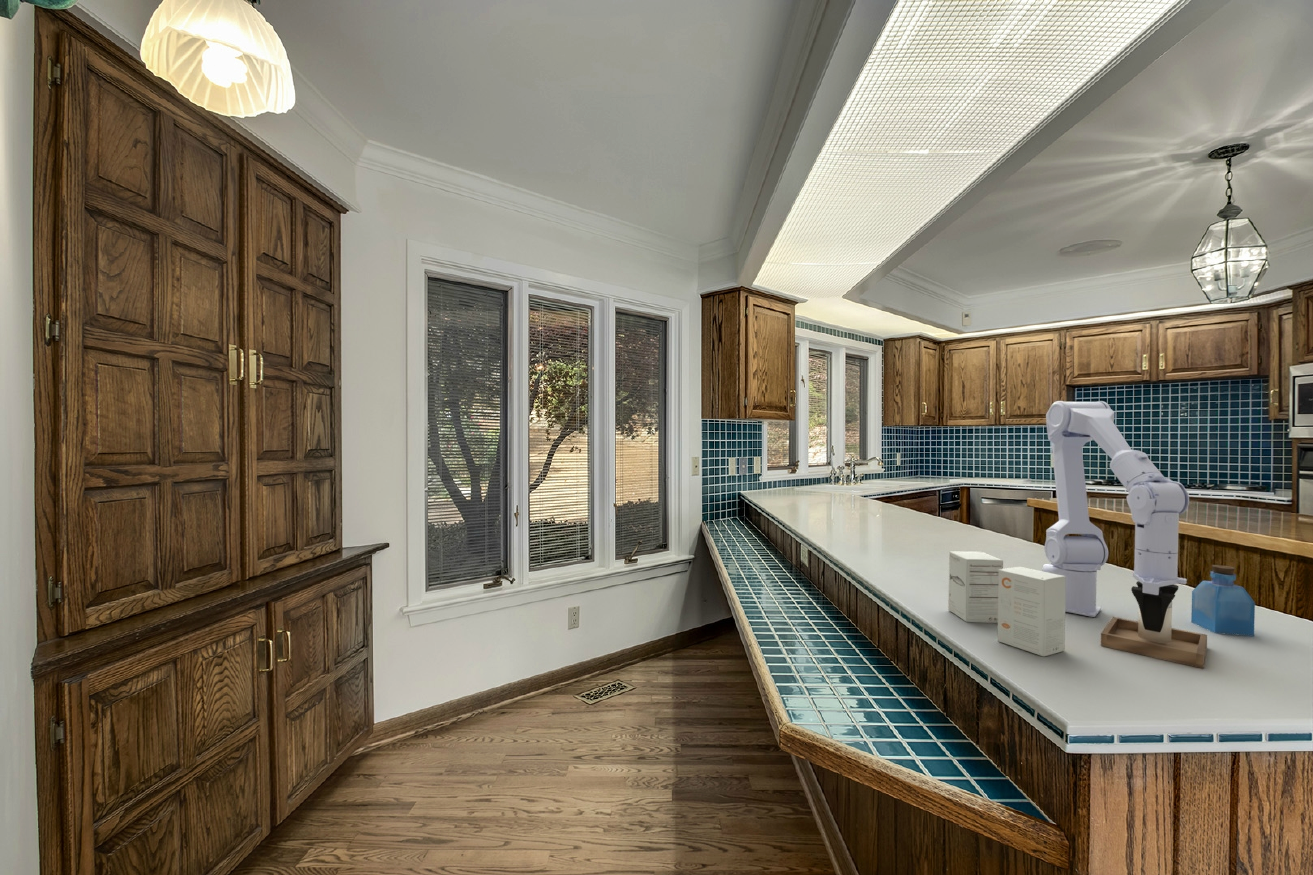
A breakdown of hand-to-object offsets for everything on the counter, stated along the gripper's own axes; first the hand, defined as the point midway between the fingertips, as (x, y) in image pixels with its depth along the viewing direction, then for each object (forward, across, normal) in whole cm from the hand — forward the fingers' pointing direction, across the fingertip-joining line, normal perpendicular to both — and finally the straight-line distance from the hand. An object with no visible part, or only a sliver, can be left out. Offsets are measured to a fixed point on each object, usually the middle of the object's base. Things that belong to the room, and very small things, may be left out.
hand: (1154, 627), depth 100 cm
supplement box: (+4, -6, +27) cm, 28 cm away
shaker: (+2, 0, 0) cm, 2 cm away
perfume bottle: (+4, +22, -8) cm, 24 cm away
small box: (+4, -16, +15) cm, 22 cm away
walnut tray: (+3, 0, 0) cm, 3 cm away
